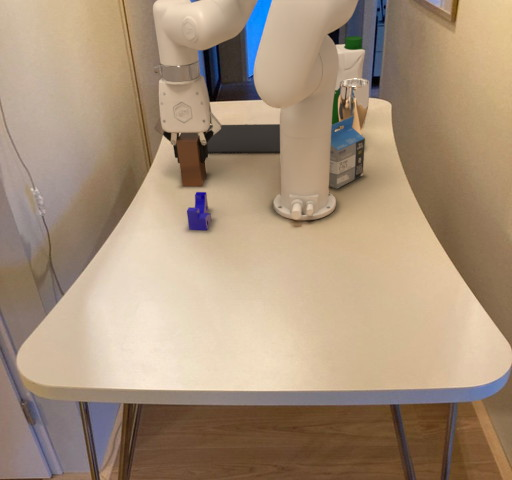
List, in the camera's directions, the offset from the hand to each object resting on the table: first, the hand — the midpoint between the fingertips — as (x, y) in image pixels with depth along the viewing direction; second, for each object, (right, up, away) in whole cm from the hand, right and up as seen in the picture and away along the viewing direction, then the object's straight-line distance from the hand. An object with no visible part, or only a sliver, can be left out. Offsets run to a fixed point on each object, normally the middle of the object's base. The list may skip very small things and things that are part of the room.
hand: (192, 159), depth 120 cm
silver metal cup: (+37, +7, +13) cm, 40 cm away
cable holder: (+3, -16, -11) cm, 19 cm away
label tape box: (+33, -5, 0) cm, 33 cm away
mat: (+12, +12, +20) cm, 26 cm away
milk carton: (+37, +18, +26) cm, 48 cm away
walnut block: (0, -4, +3) cm, 5 cm away
